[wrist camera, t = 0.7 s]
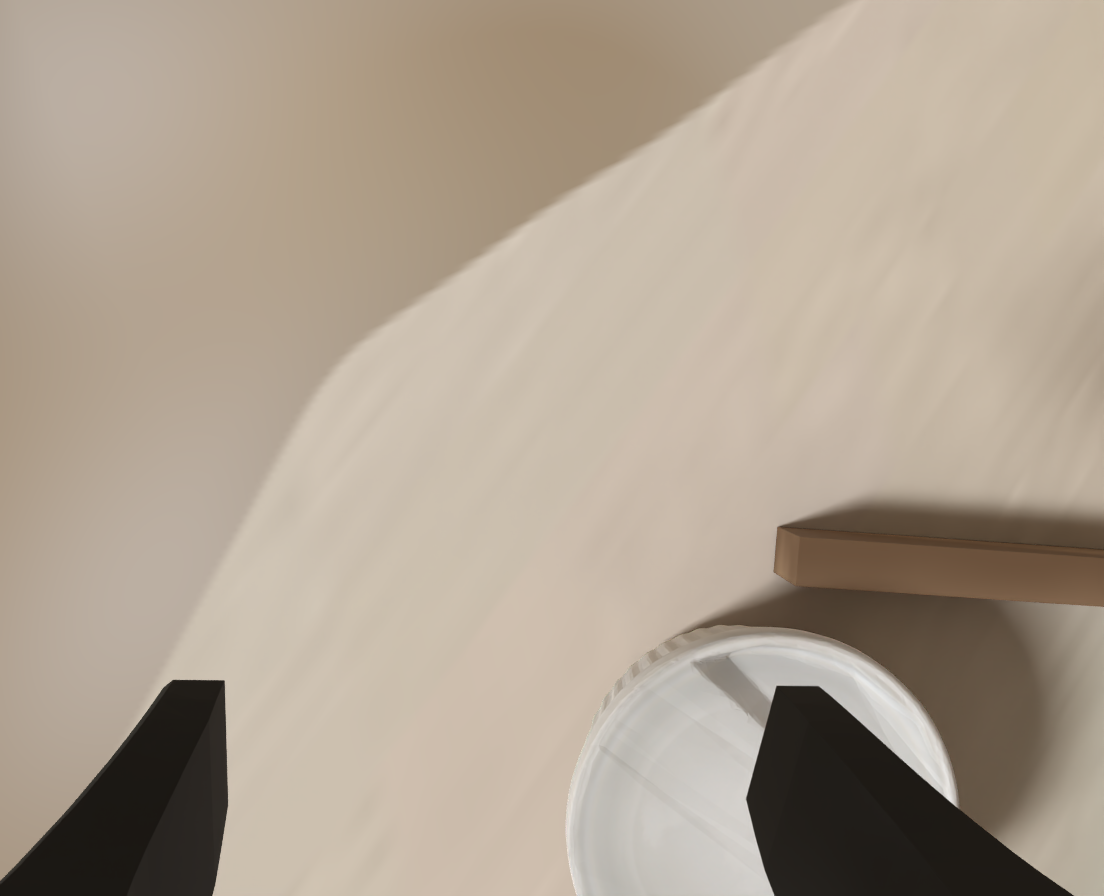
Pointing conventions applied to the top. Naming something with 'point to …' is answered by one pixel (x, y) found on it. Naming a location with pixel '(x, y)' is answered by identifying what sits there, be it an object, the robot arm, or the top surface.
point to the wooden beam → (940, 566)
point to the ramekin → (714, 757)
